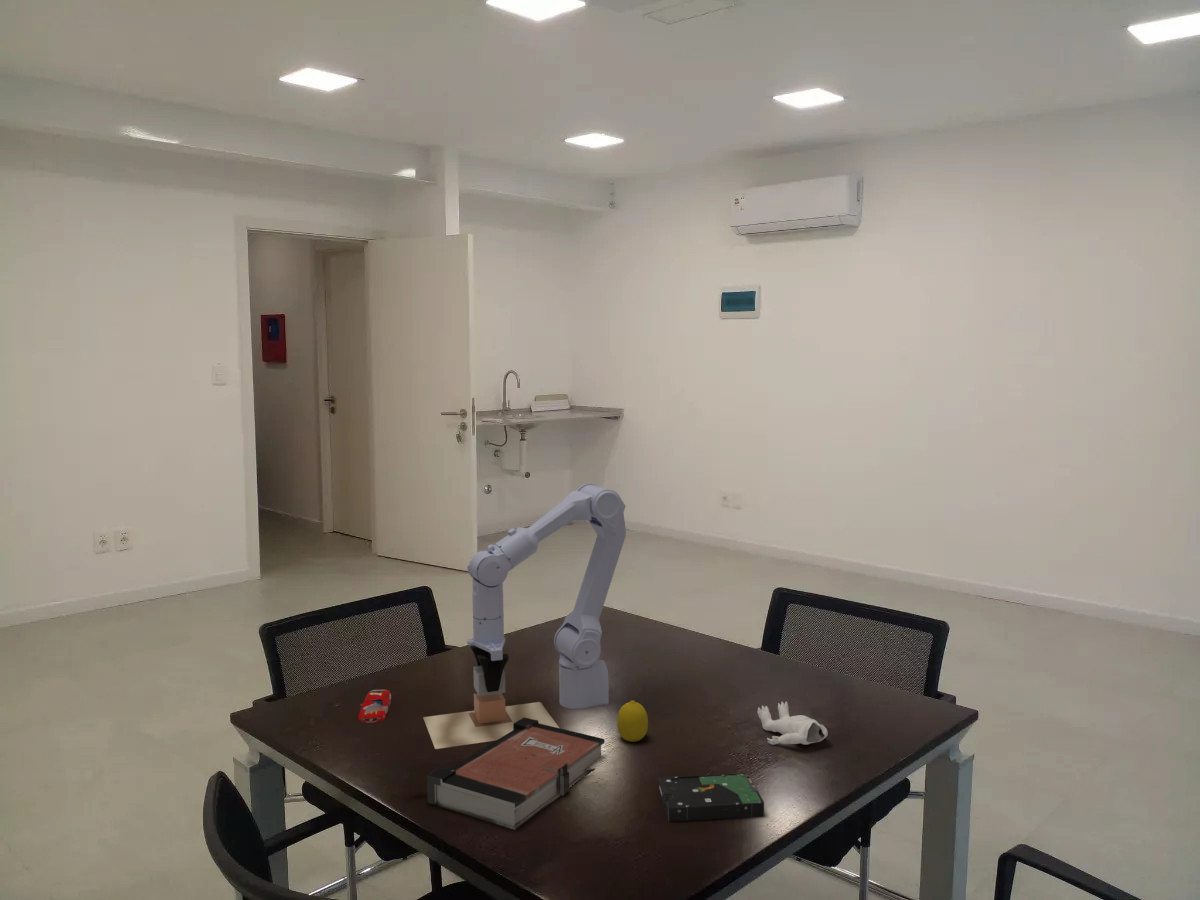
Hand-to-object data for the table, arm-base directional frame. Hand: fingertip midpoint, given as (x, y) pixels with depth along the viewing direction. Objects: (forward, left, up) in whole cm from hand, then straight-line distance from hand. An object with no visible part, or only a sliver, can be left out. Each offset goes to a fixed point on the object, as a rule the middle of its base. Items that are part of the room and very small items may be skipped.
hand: (489, 686), depth 173 cm
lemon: (-22, +18, -7) cm, 29 cm away
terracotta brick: (0, 0, -6) cm, 6 cm away
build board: (+1, +3, -7) cm, 8 cm away
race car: (+20, -12, -8) cm, 25 cm away
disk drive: (-25, +42, -8) cm, 50 cm away
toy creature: (-50, +25, -8) cm, 57 cm away
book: (0, +26, -8) cm, 27 cm away
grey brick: (0, 0, -1) cm, 1 cm away
